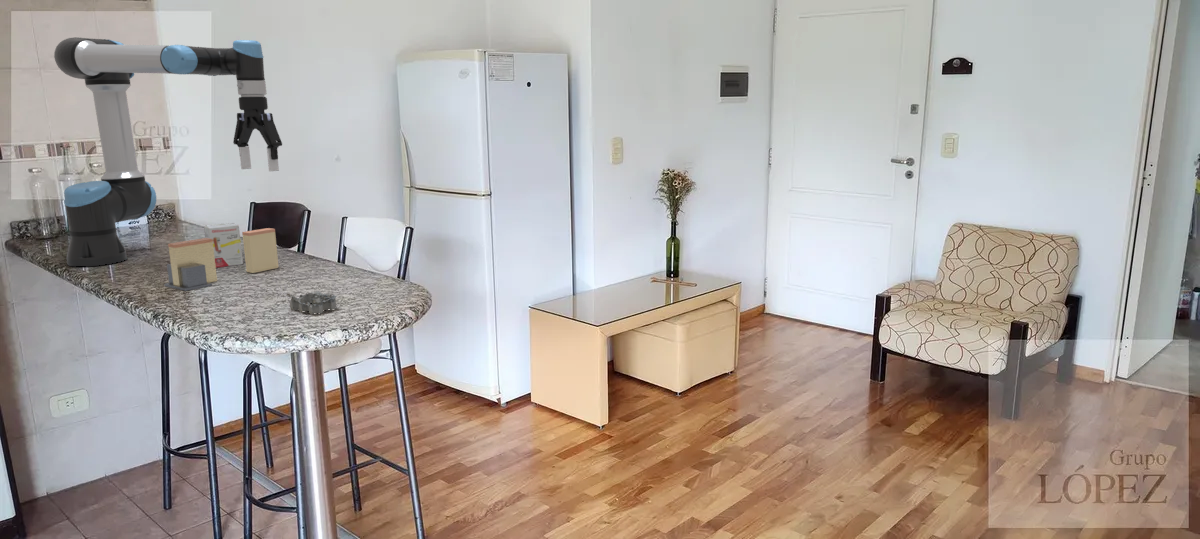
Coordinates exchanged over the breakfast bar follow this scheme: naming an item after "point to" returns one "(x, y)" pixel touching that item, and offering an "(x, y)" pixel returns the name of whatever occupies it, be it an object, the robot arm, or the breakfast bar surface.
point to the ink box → (225, 243)
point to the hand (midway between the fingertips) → (259, 170)
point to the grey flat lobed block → (313, 302)
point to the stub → (260, 250)
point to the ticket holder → (191, 264)
